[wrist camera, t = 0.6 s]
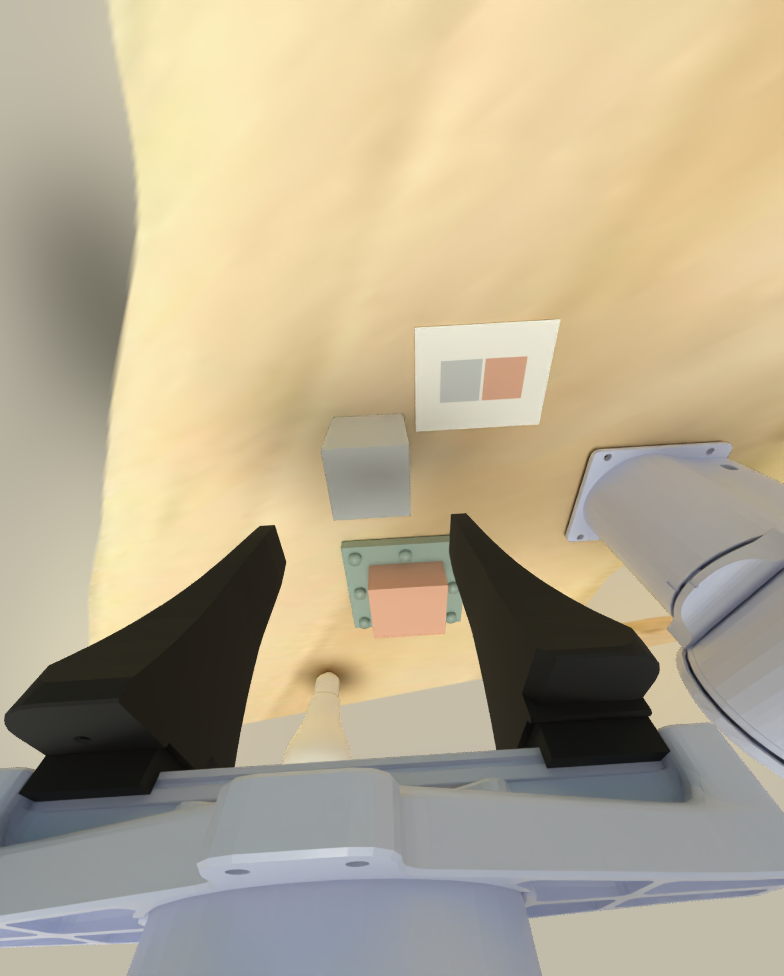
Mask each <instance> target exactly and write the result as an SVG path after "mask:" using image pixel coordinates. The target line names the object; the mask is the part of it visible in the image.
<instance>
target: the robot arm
mask: <svg viewBox="0 0 784 976" xmlns="http://www.w3.org/2000/svg"><path fill="white" fill-rule="evenodd" d="M731 450H732V445H731V444H730V443H727V442H710V443H694V444H677V445H660V446H643V447H627V448H610V449H598V450H595V451H594V452H593V453H592V454H591V456H590V458H589V462H588V465H587V468H586V471H585V474H584V478H583V481H582V484H581V487H580V490H579V494H578V497H577V500H576V503H575V506H574V510H573V513H572V516H571V519H570V522H569V526H568V529H567V532H566V536H565V537H566V538H567V540H568V541H570V542H576V541H592V540H602V541H603V543H604V544H605V545H606V546H607V547H608V548H609V549H610V550H611V551H612V552H613V553H614V554H615V556H616V557H617V558H618V559H619V560H620V561H621V562H622V563H623V564H624V565H625V566H626V567H627V568H628V570H629V571H630V572H631V573H632V574H633V575H634V576H635V577H636V578H637V579H638V580H639V581H640V583H641V584H642V585H643V586H644V587H645V588H646V589H647V590H648V591H649V592H650V593H651V594H652V596H653V597H654V598H655V599H656V600H657V601H658V602H659V603H660V604H661V605H662V606H663V607H664V609H665V610H666V611H667V612H668V613H669V614H670V615H671V616H672V617H673V621H672V622H671V624H670V625H669V626H668V627H667V630H668V631H669V632H670V633H671V635H672V636H673V637H674V638H675V639H676V640H677V641H678V643H679V644H680V645H681V646H682V647H681V648H680V649H679V651H678V652H677V655H676V664H677V669H678V671H679V674H680V677H681V678H682V681H683V683H684V684H685V686H686V688H687V689H688V691H689V693H690V695H691V696H692V698H693V699H694V701H695V703H696V704H697V705H698V707H699V708H700V709H701V710H702V712H703V713H704V714H705V715H706V717H707V718H708V719H709V720H710V721H711V722H712V723H713V724H711V723H693V724H677V725H669V726H664V727H662V728H659V729H658V730H657V729H656V728H655V726H654V725H653V723H652V722H651V720H650V719H649V717H648V716H651V714H652V711H651V709H650V707H649V706H648V704H647V703H646V701H645V700H644V698H643V697H644V695H645V694H646V692H647V691H648V690H649V688H650V687H651V686H652V684H653V683H654V682H655V680H656V678H657V676H658V674H659V671H660V669H659V668H660V667H659V662H658V661H657V660H656V658H655V657H654V656H653V654H652V653H651V652H650V650H649V649H648V648H647V646H646V645H645V644H644V642H643V641H642V640H641V639H640V637H639V636H638V635H637V634H636V633H635V631H634V630H633V629H632V628H630V627H628V626H626V625H624V624H622V623H619V622H617V621H615V620H613V619H611V618H608V617H606V616H604V615H602V614H599V613H598V612H596V611H593V610H592V609H589V608H588V607H586V606H584V605H582V604H580V603H578V602H577V601H575V600H573V599H571V598H569V597H568V596H566V595H564V594H562V593H561V592H559V591H558V590H556V589H554V588H553V587H551V586H549V585H548V584H546V583H545V582H543V581H542V580H540V579H539V578H537V577H536V576H534V575H533V574H532V573H530V572H529V571H528V570H526V569H525V568H523V567H522V566H521V565H520V564H518V563H517V562H516V561H515V560H513V559H512V558H511V557H510V556H509V555H508V554H506V553H505V552H504V551H503V550H502V549H501V548H500V547H499V546H498V545H497V544H496V543H495V542H493V541H492V540H491V539H490V538H489V537H488V536H487V535H486V534H485V533H484V532H483V531H482V530H481V528H480V527H479V526H478V525H477V524H476V523H475V522H474V521H473V520H472V519H471V518H470V517H469V516H468V515H467V514H466V513H464V514H451V524H450V540H449V556H450V561H451V566H452V571H453V575H454V578H455V581H456V584H457V587H458V590H459V593H460V596H461V599H462V602H463V605H464V608H465V611H466V614H467V617H468V620H469V623H470V627H471V630H472V633H473V638H474V642H475V646H476V651H477V655H478V660H479V664H480V669H481V674H482V678H483V683H484V687H485V693H486V698H487V703H488V707H489V713H490V718H491V723H492V729H493V733H494V740H495V744H496V750H492V751H478V752H462V753H447V754H431V755H416V756H400V757H385V758H370V759H354V760H339V761H324V762H308V763H293V764H279V765H278V764H277V765H262V766H247V767H235V761H236V755H237V749H238V744H239V737H240V732H241V727H242V722H243V717H244V712H245V707H246V702H247V697H248V693H249V688H250V684H251V680H252V675H253V671H254V667H255V663H256V659H257V655H258V651H259V647H260V644H261V641H262V638H263V635H264V632H265V629H266V626H267V624H268V621H269V618H270V615H271V613H272V610H273V607H274V604H275V602H276V599H277V596H278V593H279V590H280V587H281V584H282V580H283V576H284V571H285V566H286V559H285V556H284V553H283V550H282V547H281V543H280V540H279V537H278V534H277V531H276V527H275V525H268V526H259V527H258V528H257V529H256V530H255V531H253V532H252V533H251V534H250V535H249V536H248V537H247V538H246V539H245V540H243V541H242V542H241V543H240V544H239V545H238V546H237V547H236V548H235V549H234V550H232V551H231V552H230V553H229V554H228V555H227V556H226V557H225V558H223V559H222V560H221V561H220V562H219V563H218V564H216V565H215V566H214V567H213V568H211V569H210V570H209V571H208V572H207V573H205V574H204V575H203V576H202V577H201V578H199V579H198V580H197V581H195V582H194V583H193V584H191V585H190V586H189V587H187V588H186V589H185V590H183V591H182V592H180V593H179V594H178V595H176V596H175V597H173V598H172V599H170V600H169V601H167V602H166V603H164V604H163V605H161V606H159V607H158V608H156V609H155V610H153V611H151V612H150V613H148V614H147V615H145V616H143V617H142V618H140V619H139V620H137V621H135V622H133V623H132V624H130V625H128V626H126V627H125V628H123V629H121V630H119V631H117V632H116V633H114V634H112V635H110V636H108V637H106V638H104V639H102V640H101V641H99V642H97V643H95V644H93V645H91V646H89V647H87V648H85V649H82V650H80V651H78V652H76V653H74V654H72V655H70V656H68V657H66V658H64V659H62V660H60V661H58V662H55V663H53V664H51V665H49V666H48V667H47V668H46V669H45V670H44V671H43V673H42V674H41V675H40V676H39V677H38V678H37V679H36V680H35V682H34V683H33V684H32V685H31V686H30V687H29V688H28V689H27V690H26V692H25V693H24V694H23V695H22V696H21V697H20V698H19V699H18V701H17V702H16V703H15V704H14V705H13V706H12V707H11V708H10V709H9V710H8V712H7V713H6V714H5V718H4V722H5V725H6V727H7V729H8V730H9V731H10V732H11V733H12V734H14V735H15V736H16V737H18V738H19V739H21V740H22V741H24V742H26V743H27V744H29V745H30V746H32V747H34V748H35V749H37V750H38V751H40V752H41V753H43V754H44V755H46V756H45V758H44V759H43V760H42V762H41V763H40V765H39V766H38V767H37V769H36V770H34V769H30V768H22V767H16V768H0V948H9V947H30V946H32V947H34V946H59V945H61V946H62V945H95V944H128V943H139V944H138V946H137V949H136V952H135V955H134V958H133V960H132V963H131V965H130V968H129V970H128V973H127V976H542V974H541V970H540V966H539V962H538V957H537V954H536V949H535V945H534V941H533V937H532V932H531V928H530V924H529V920H528V918H538V917H547V916H556V915H565V914H574V913H582V912H593V911H602V910H611V909H620V908H629V907H639V906H648V905H658V904H667V903H677V902H688V901H700V900H711V899H724V898H736V897H750V896H758V895H762V894H765V893H768V892H772V891H775V890H778V889H782V888H784V813H783V811H782V810H781V809H780V808H779V806H778V805H777V804H776V803H775V801H774V800H773V799H772V797H771V796H770V795H769V794H768V792H767V791H766V790H765V789H764V788H763V786H762V785H761V784H760V782H759V781H758V780H757V779H756V777H755V776H754V775H753V773H752V772H751V771H750V770H749V768H748V767H747V766H746V765H745V763H744V762H743V761H742V759H741V758H740V757H739V756H738V754H737V753H736V752H735V751H734V749H733V748H732V747H731V745H730V744H729V743H728V742H727V740H726V739H725V738H724V737H723V735H722V734H721V733H720V732H719V730H720V731H721V732H722V733H723V734H724V735H725V736H726V737H727V738H728V739H729V740H730V741H732V742H733V743H734V744H735V745H736V746H738V747H739V748H740V749H741V750H743V751H744V752H745V753H746V754H748V755H749V756H751V757H752V758H753V759H755V760H756V761H758V762H759V763H761V764H762V765H764V766H766V767H767V768H769V769H770V770H772V771H773V772H775V773H776V774H778V775H779V776H780V777H782V778H783V779H784V484H783V483H781V482H779V481H777V480H775V479H772V478H770V477H768V476H766V475H764V474H761V473H759V472H757V471H755V470H753V469H750V468H748V467H746V466H744V465H742V464H739V463H737V462H735V461H733V460H731V459H728V458H727V457H728V455H729V453H730V452H731ZM607 454H608V456H607V457H606V458H604V457H605V456H606V455H607ZM578 535H579V536H578ZM716 727H717V728H718V729H719V730H718V729H717V728H716Z"/></svg>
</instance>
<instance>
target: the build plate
mask: <svg viewBox="0 0 784 976" xmlns="http://www.w3.org/2000/svg"><path fill="white" fill-rule="evenodd" d="M449 540H450V535H444V536H427V537H411V538H395V539H378V540H362V541H345V542H342V545H341V552H342V557H343V563H344V568H345V574H346V579H347V585H348V591H349V596H350V602H351V607H352V613H353V618H354V624H355V628H363V629H366V628H369V627H373V625H372V618H371V610H370V603H369V595H368V574H369V565H385V564H402V563H418V562H434V561H442V562H443V566H444V570H445V574H446V578H447V582H448V596H447V611H446V622H447V623H454V622H457V621H460V620H461V611H462V599H461V596H460V593H459V590H458V587H457V584H456V581H455V578H454V575H453V571H452V566H451V561H450V556H449Z"/></svg>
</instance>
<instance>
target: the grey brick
mask: <svg viewBox="0 0 784 976" xmlns="http://www.w3.org/2000/svg"><path fill="white" fill-rule="evenodd" d="M321 454H322V459H323V465H324V470H325V476H326V481H327V486H328V492H329V497H330V503H331V508H332V514H333V519H334V520H350V519H367V518H383V517H399V516H411V504H410V458H409V441H408V436H407V431H406V427H405V422H404V417H403V413H399V414H382V415H366V416H349V417H333V419H332V422H331V425H330V427H329V430H328V432H327V435H326V438H325V440H324V443H323V445H322V448H321Z"/></svg>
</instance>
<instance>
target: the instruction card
mask: <svg viewBox="0 0 784 976" xmlns="http://www.w3.org/2000/svg"><path fill="white" fill-rule="evenodd" d="M559 324H560V319H554V320H537V321H519V322H502V323H485V324H468V325H450V326H433V327H416V328H415V420H416V432H419V431H436V430H453V429H470V428H487V427H503V426H520V425H537V424H539V422H540V417H541V412H542V407H543V402H544V397H545V392H546V387H547V383H548V378H549V373H550V368H551V363H552V358H553V353H554V349H555V344H556V339H557V334H558V329H559Z"/></svg>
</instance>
